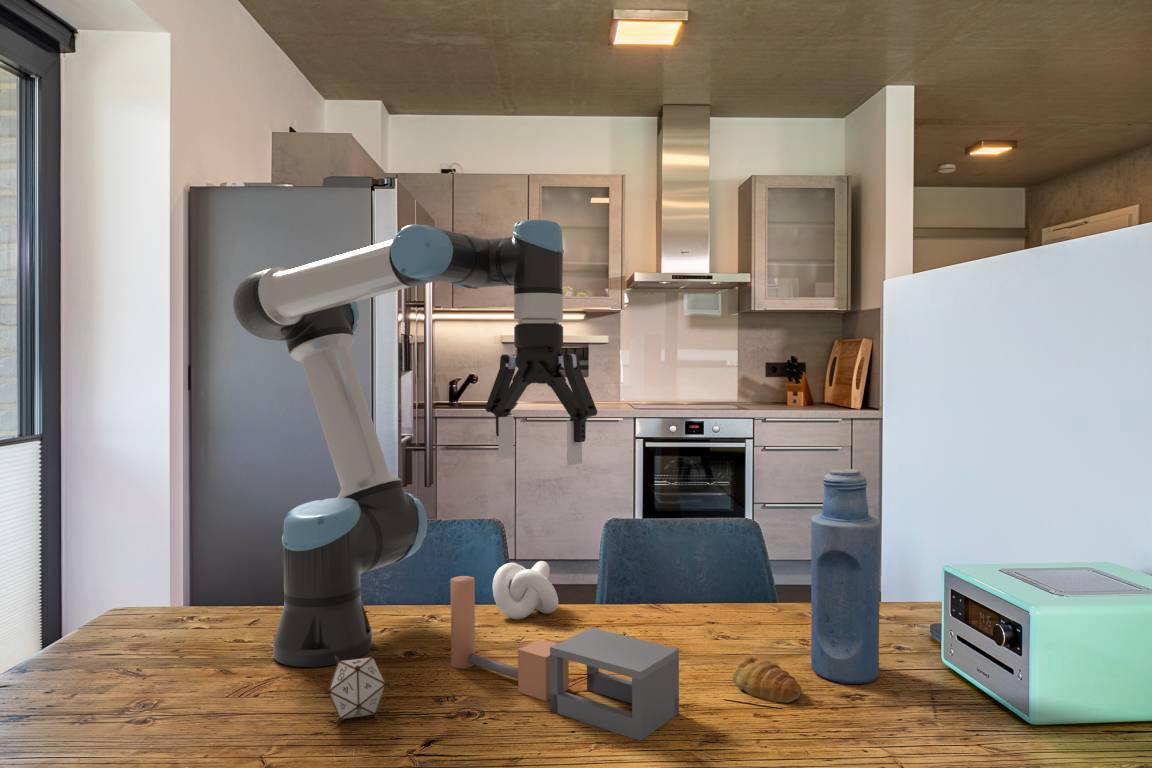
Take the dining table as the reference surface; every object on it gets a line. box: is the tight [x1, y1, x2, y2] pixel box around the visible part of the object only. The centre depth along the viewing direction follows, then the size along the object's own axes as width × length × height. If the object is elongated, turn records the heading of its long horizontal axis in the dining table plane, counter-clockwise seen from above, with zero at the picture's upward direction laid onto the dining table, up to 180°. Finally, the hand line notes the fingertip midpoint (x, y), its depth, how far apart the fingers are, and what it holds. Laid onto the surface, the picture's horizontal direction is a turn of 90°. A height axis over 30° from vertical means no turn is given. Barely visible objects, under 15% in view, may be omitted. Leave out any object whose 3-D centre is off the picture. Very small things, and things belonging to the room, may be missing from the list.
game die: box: [322, 650, 393, 727], centre depth 102 cm, size 9×8×10 cm
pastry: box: [732, 656, 802, 704], centre depth 110 cm, size 9×7×4 cm
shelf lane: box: [549, 627, 680, 742], centre depth 104 cm, size 14×9×8 cm
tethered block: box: [450, 575, 570, 702], centre depth 115 cm, size 20×5×13 cm, turn 52°
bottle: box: [810, 468, 881, 685], centre depth 116 cm, size 10×10×30 cm
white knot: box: [492, 560, 559, 620], centre depth 145 cm, size 11×12×9 cm
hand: (539, 460), depth 122 cm, fingers open, 13 cm apart
